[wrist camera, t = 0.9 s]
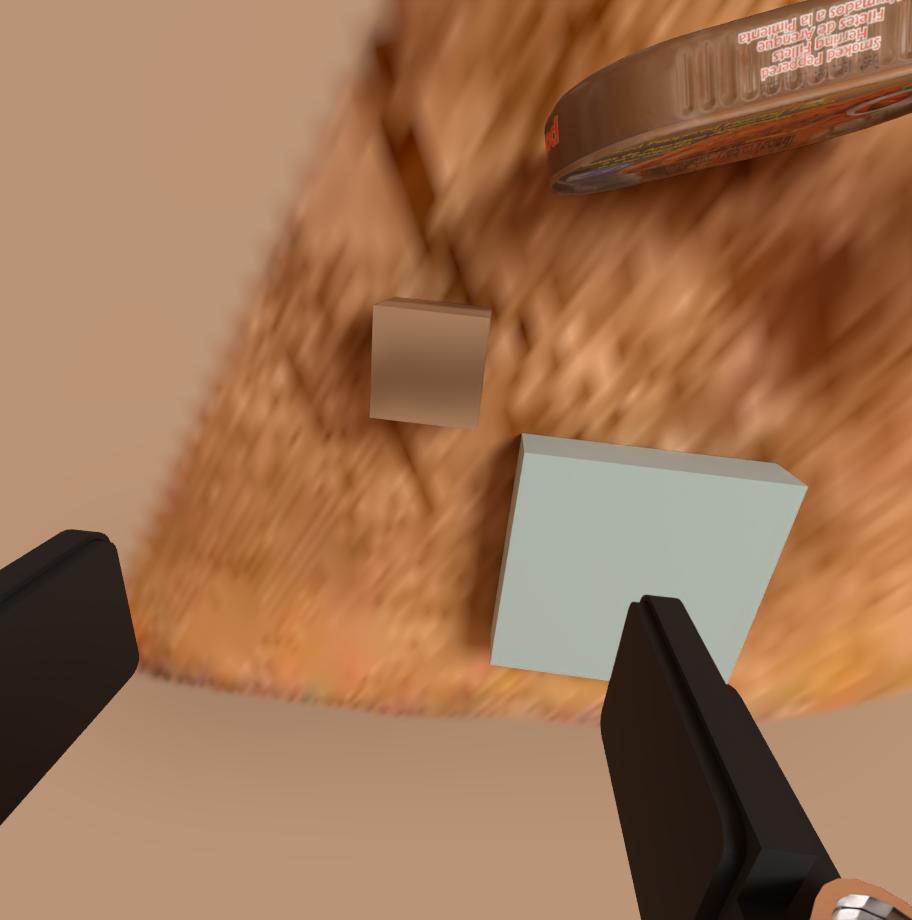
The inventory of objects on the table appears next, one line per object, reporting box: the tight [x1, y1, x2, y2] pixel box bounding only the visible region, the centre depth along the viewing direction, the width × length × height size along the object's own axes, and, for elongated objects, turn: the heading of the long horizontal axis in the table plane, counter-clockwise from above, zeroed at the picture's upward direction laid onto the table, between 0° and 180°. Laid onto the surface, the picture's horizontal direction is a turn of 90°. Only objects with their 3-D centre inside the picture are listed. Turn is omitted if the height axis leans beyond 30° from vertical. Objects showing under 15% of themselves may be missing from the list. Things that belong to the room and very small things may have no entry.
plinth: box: [490, 433, 808, 684], centre depth 29 cm, size 14×14×3 cm
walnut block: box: [370, 297, 492, 430], centre depth 24 cm, size 5×5×5 cm
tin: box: [545, 0, 912, 195], centre depth 18 cm, size 15×3×8 cm, turn 101°
